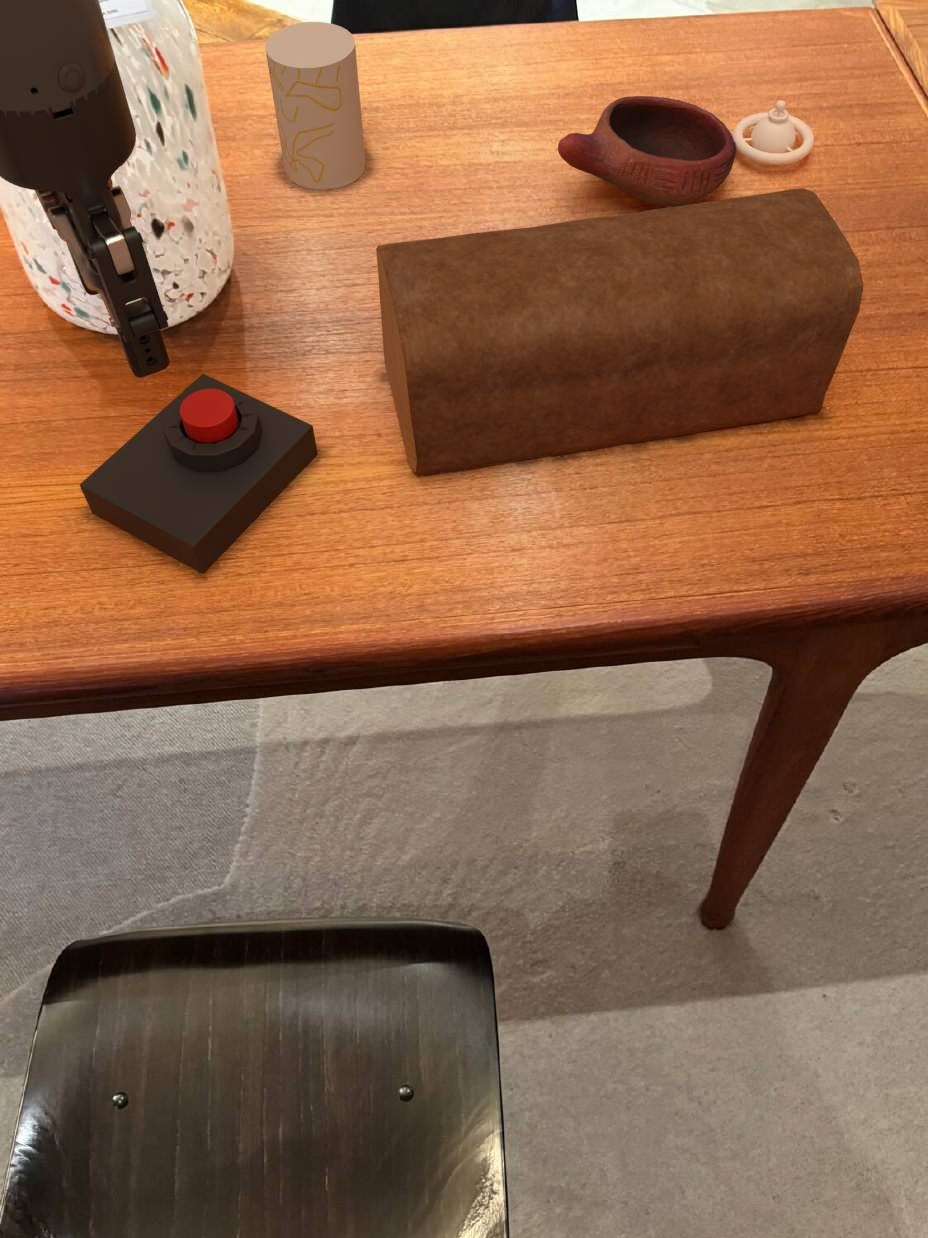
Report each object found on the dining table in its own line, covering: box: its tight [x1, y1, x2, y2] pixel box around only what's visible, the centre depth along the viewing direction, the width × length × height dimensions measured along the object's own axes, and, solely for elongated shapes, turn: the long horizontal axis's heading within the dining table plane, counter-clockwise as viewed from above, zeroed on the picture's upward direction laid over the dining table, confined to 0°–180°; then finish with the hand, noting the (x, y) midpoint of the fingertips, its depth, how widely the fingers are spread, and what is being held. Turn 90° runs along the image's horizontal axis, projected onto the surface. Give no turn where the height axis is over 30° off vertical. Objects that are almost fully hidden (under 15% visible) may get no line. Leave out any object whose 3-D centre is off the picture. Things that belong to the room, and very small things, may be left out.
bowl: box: [557, 95, 737, 208], centre depth 99 cm, size 16×13×8 cm
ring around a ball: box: [731, 99, 815, 166], centre depth 104 cm, size 8×6×8 cm
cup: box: [264, 21, 367, 191], centre depth 101 cm, size 8×8×12 cm
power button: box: [180, 389, 238, 443], centre depth 79 cm, size 4×4×2 cm
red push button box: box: [79, 373, 319, 574], centre depth 80 cm, size 14×11×5 cm
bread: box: [375, 187, 864, 476], centre depth 82 cm, size 14×34×14 cm, turn 102°
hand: (126, 327), depth 64 cm, fingers open, 8 cm apart
